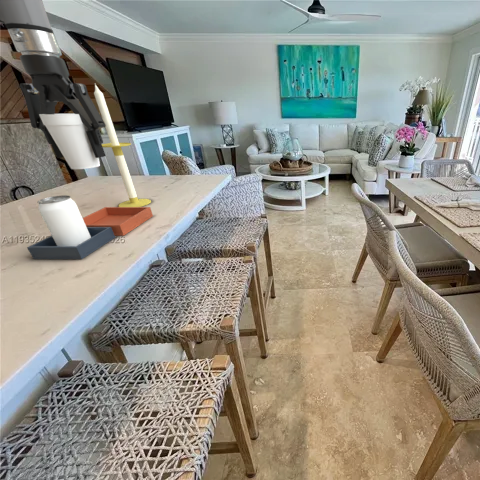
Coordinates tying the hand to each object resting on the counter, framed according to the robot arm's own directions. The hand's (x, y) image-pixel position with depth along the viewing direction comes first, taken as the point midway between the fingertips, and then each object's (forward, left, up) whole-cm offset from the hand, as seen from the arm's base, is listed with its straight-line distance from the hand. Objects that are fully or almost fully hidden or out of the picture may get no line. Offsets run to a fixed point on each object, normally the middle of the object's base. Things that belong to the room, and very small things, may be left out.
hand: (81, 157), depth 71 cm
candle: (-3, +17, -19) cm, 26 cm away
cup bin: (+3, -2, -19) cm, 20 cm away
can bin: (+3, -15, -19) cm, 25 cm away
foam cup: (0, 0, -3) cm, 3 cm away
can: (+3, -15, -19) cm, 24 cm away
